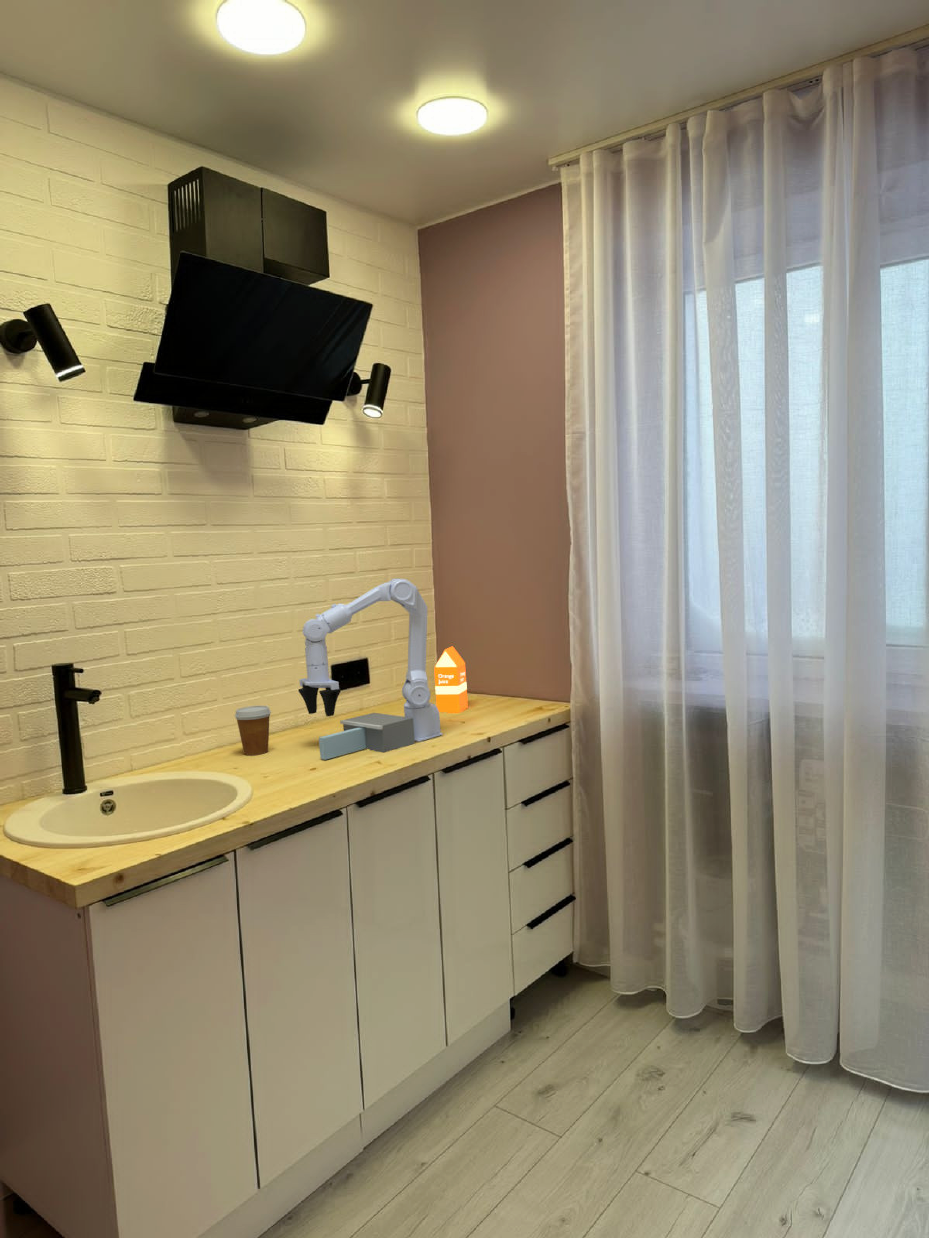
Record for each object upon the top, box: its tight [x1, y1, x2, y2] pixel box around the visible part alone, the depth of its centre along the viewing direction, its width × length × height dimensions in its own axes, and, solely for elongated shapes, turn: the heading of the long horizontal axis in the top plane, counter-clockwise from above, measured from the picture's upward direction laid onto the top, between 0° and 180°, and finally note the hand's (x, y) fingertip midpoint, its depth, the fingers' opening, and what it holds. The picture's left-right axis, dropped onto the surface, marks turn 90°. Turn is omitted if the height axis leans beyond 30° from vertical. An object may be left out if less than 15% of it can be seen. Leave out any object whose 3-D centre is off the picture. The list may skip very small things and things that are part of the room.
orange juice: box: [433, 645, 469, 714], centre depth 276 cm, size 8×9×20 cm
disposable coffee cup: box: [234, 705, 272, 756], centre depth 234 cm, size 10×10×12 cm
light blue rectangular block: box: [318, 727, 367, 761], centre depth 226 cm, size 14×2×6 cm, turn 137°
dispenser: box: [339, 712, 416, 753], centre depth 234 cm, size 12×16×7 cm
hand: (321, 714), depth 233 cm, fingers open, 7 cm apart
